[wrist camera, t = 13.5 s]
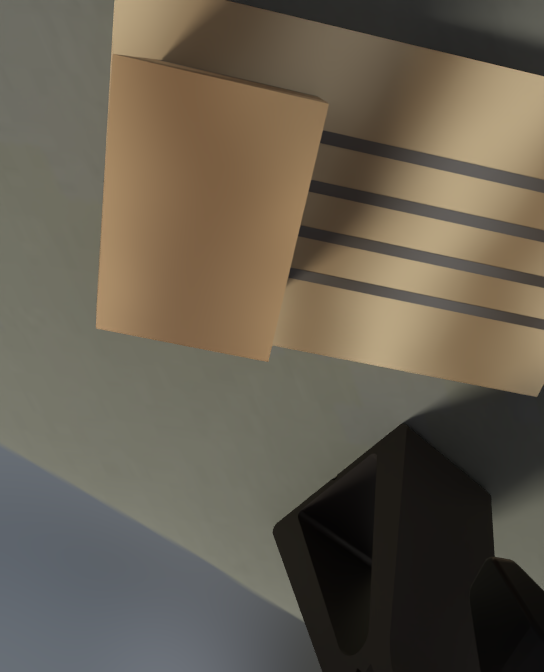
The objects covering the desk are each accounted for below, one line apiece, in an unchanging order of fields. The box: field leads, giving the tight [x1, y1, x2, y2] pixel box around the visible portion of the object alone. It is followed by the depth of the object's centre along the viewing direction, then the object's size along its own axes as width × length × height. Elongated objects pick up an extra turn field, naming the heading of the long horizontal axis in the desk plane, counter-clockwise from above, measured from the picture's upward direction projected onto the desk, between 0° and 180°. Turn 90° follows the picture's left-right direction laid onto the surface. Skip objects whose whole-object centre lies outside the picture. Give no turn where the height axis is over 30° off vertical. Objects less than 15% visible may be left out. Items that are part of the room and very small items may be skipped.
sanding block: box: [96, 54, 329, 362], centre depth 16 cm, size 5×7×5 cm
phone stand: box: [273, 424, 495, 672], centre depth 21 cm, size 9×6×12 cm, turn 138°
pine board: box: [96, 0, 544, 397], centre depth 19 cm, size 18×11×1 cm, turn 78°
